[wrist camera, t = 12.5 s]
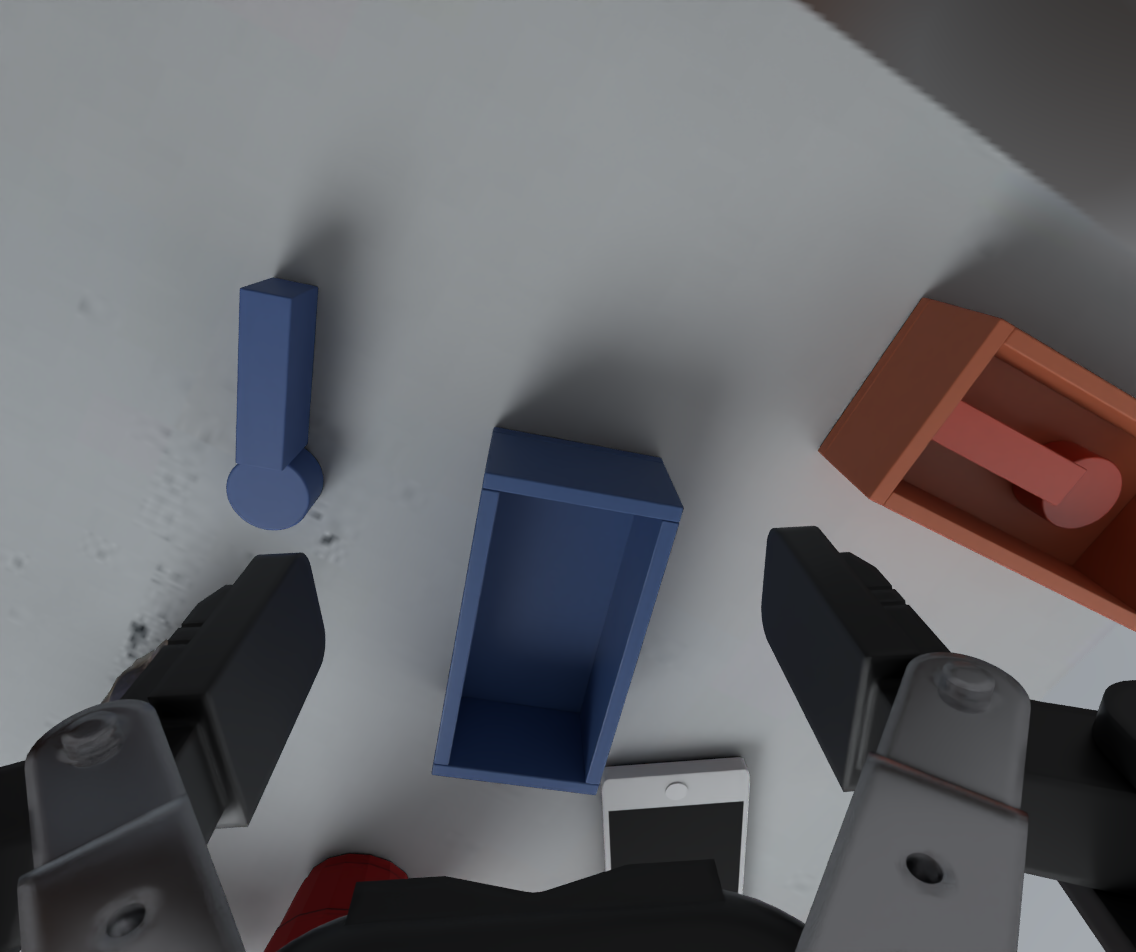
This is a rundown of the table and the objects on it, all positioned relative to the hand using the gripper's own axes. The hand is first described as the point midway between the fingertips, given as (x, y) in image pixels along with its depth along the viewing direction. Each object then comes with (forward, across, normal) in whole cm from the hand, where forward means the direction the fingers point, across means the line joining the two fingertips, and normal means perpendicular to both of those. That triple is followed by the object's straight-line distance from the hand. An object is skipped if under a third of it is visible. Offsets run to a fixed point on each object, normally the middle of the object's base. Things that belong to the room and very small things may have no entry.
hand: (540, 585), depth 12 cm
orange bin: (+14, -18, +4) cm, 24 cm away
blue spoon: (+14, +9, +1) cm, 17 cm away
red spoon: (+14, -18, +4) cm, 23 cm away
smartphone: (+14, -6, +27) cm, 31 cm away
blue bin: (+14, 0, +9) cm, 17 cm away
